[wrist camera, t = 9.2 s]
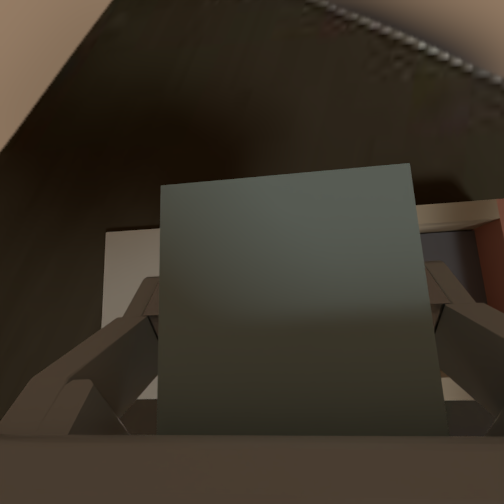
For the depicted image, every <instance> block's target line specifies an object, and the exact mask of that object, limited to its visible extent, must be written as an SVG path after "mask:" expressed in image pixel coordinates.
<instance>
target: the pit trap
mask: <svg viewBox="0 0 504 504" xmlns="http://www.w3.org/2000/svg"><path fill="white" fill-rule="evenodd" d="M496 201H497V206H498V211H499V216H500V218H499V219H497V220H494V221H492V222H490V223H487V224H485V225H482V226H480V227H478V228H475V229H473V230H471V231H457V232H442V233H427V234H420V238H421V244H422V251H423V258H424V262H425V261H438V260H440V261H442V262H444V263H445V264H446V265H447V267H448V268H449V269H450V270H451V272H452V273H453V274H454V276H455V277H456V278H457V279H458V281H459V282H460V283H461V284H462V286H463V287H464V288H465V289H466V291H467V292H468V293H469V294H470V296H471V297H472V298H473V299H474V301H475V302H476V303H485V304H487V305H489V306H491V307H493V308H495V309H496V310H498V311H500V312H502V313H504V199H496Z"/></svg>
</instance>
